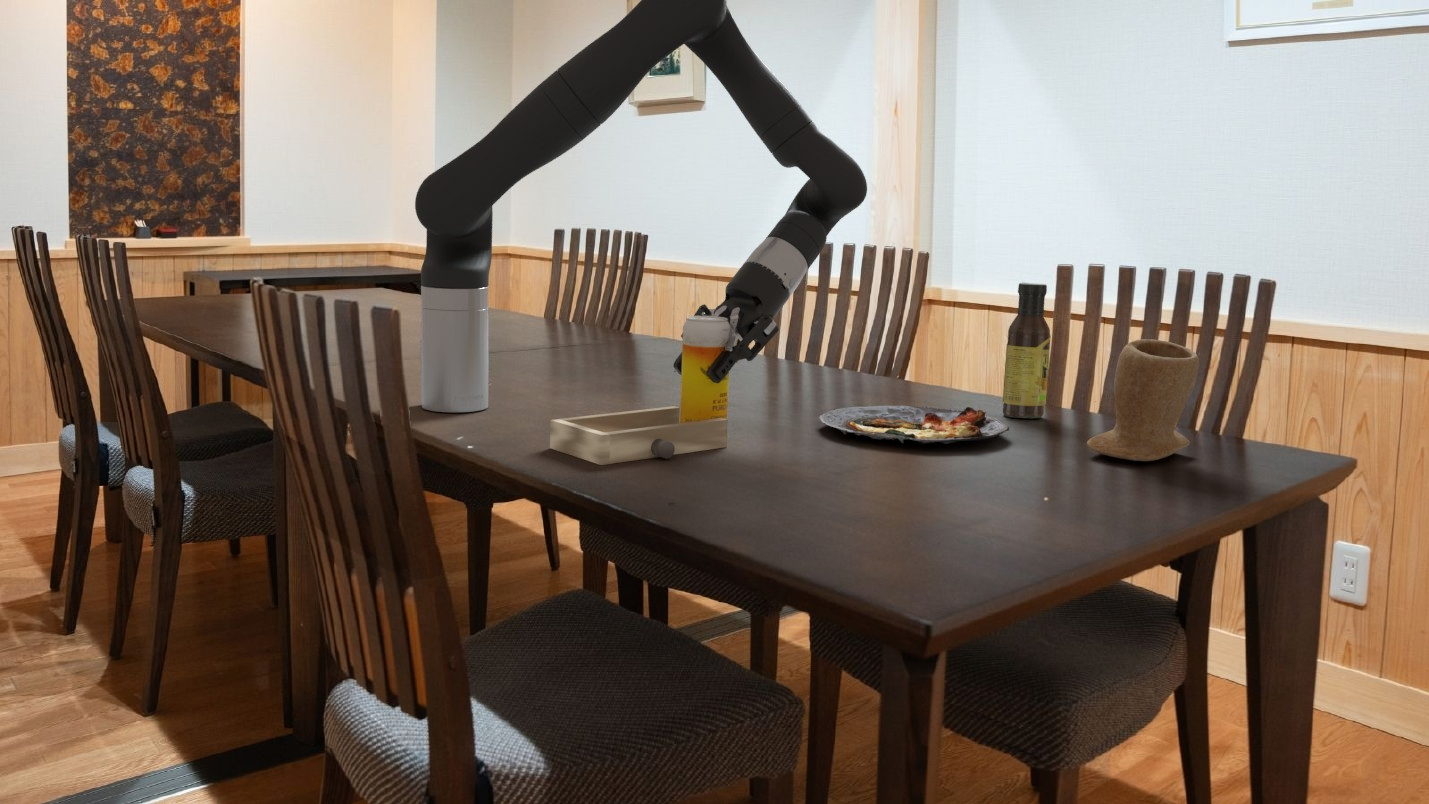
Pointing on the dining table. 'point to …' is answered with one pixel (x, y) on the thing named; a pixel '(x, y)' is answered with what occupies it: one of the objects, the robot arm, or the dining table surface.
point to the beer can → (703, 369)
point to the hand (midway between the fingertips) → (695, 374)
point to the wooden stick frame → (635, 435)
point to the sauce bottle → (1027, 356)
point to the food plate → (915, 423)
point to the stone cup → (1149, 401)
